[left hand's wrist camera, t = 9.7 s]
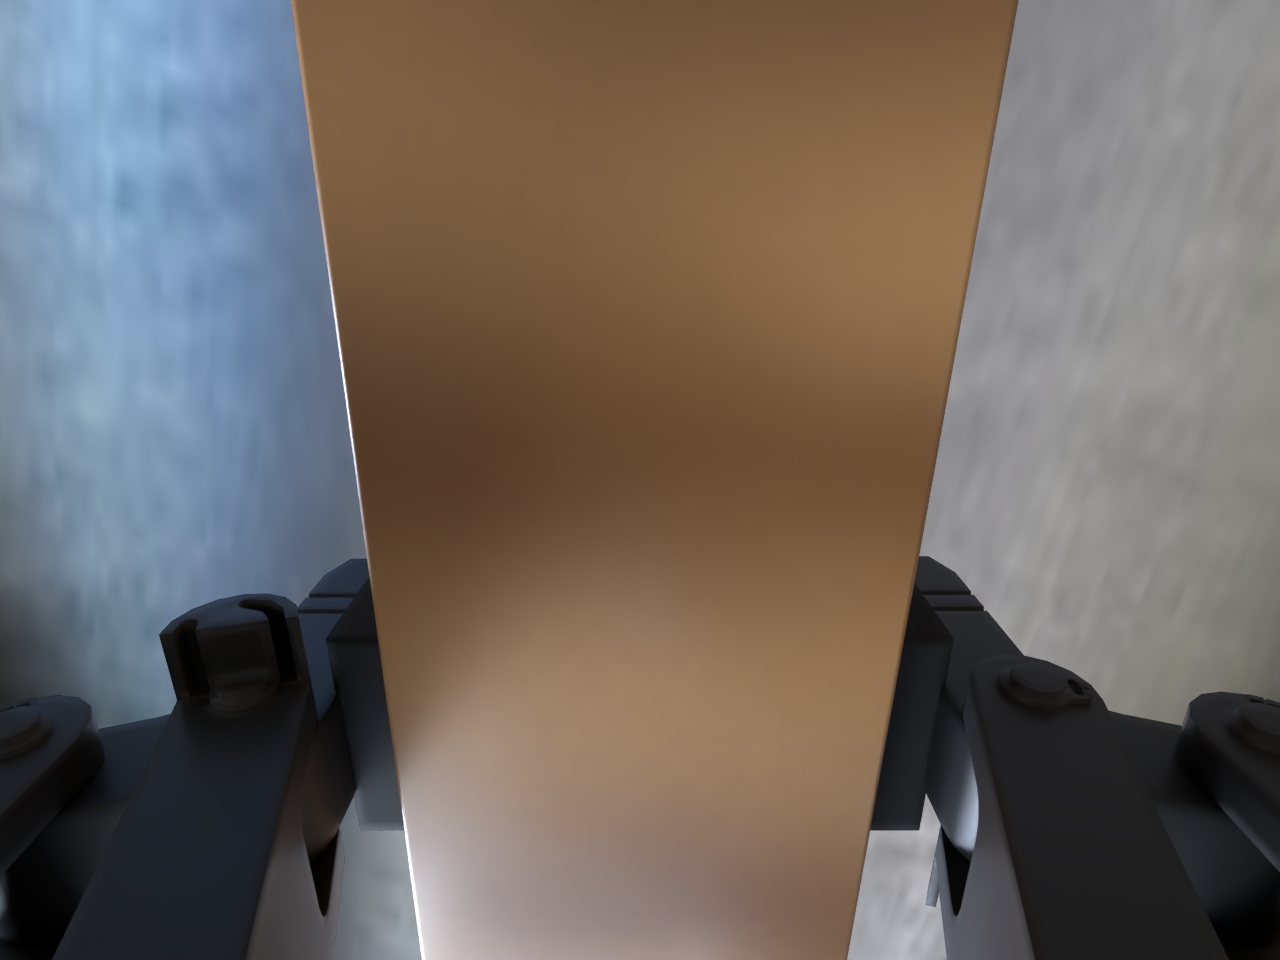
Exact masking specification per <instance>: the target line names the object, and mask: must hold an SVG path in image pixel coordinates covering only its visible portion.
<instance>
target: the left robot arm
mask: <svg viewBox="0 0 1280 960" xmlns="http://www.w3.org/2000/svg"><path fill="white" fill-rule="evenodd" d="M159 637H160V640H161V644H162V647H163V651H164V655H165V658H166V662H167V665H168V669H169V672H170V676H171V680H172V683H173V687H174V690H175V694H176V698H177V703H176V705H175V707H174V709H173V711H172V713H171V714H169V715H165V716H161V717H157V718H152V719H147V720H142V721H137V722H132V723H127V724H122V725H117V726H112V727H107V728H102V729H98V727H97V724H96V721H95V718H94V715H93V712H92V709H91V706H90V705H89V704H87V703H86V702H84V701H83V700H82V699H80V698H78V697H69V696H61V695H56V696H48V697H40V698H30V699H25V700H21V701H17V703H10V704H7V705H4V706H1V707H0V960H333V955H334V947H335V938H336V930H337V921H338V913H339V904H340V896H341V887H342V879H343V871H344V862H345V854H344V847H343V841H342V836H341V831H340V824H341V822H342V820H343V817H344V815H345V813H346V811H347V809H348V807H349V805H350V803H351V800H352V798H353V796H354V798H355V803H356V809H357V814H358V820H359V825H360V830H404V825H403V818H402V811H401V803H400V796H399V789H398V781H397V774H396V767H395V759H394V752H393V745H392V737H391V730H390V723H389V715H388V708H387V701H386V693H385V686H384V679H383V671H382V664H381V657H380V649H379V642H378V635H377V627H376V620H375V613H374V605H373V598H372V591H371V583H370V576H369V569H368V561H367V559H350V560H349V561H347V562H345V563H344V564H342V565H340V566H339V567H337V568H335V569H334V570H332V571H330V572H329V573H327V574H325V575H324V576H323V578H322V579H321V580H320V581H319V583H318V584H317V585H316V586H315V587H314V589H313V590H312V591H311V592H310V593H309V598H305V600H304V601H303V602H302V603H301V604H300V606H299V607H298V608H297V606H296V605H295V604H294V603H293V602H291V601H290V600H289V599H287V598H286V597H282V596H277V595H272V594H243V595H238V596H233V597H229V598H224V599H219V600H216V601H213V602H210V603H207V604H205V605H202V606H199V607H197V608H194V609H192V610H190V611H188V612H187V613H185V614H183V615H181V616H180V617H178V618H176V619H175V620H173V621H172V622H171V623H170V624H169V625H168V626H167V627H166V628H165V629H164V630H163V631H162V632H161V633H160V634H159ZM926 794H927V796H928V798H929V800H930V802H931V804H932V806H933V808H934V811H935V813H936V815H937V817H938V819H939V821H940V823H941V826H940V831H939V836H938V841H937V846H936V851H935V856H934V861H933V867H932V872H931V877H930V882H929V887H928V893H927V900H926V905H929V906H933V907H936V903H937V898H938V893H939V894H940V902H941V911H942V919H943V928H944V936H945V945H946V953H947V960H1280V703H1278V702H1275V701H1272V700H1269V699H1267V700H1264V698H1262V697H1258V696H1253V695H1247V694H1246V695H1245V694H1237V693H1228V692H1215V693H1207V694H1201V695H1199V696H1198V697H1197V698H1195V699H1194V700H1193V701H1191V702H1190V704H1189V707H1188V710H1187V713H1186V716H1185V719H1184V722H1183V725H1182V726H1180V725H1175V724H1170V723H1165V722H1159V721H1154V720H1149V719H1144V718H1139V717H1134V716H1129V715H1124V714H1120V713H1116V712H1112V711H1108V709H1107V707H1106V705H1105V703H1104V701H1103V699H1102V698H1101V697H1100V696H1099V694H1098V693H1097V692H1096V691H1095V689H1094V688H1093V687H1092V686H1091V685H1090V684H1089V683H1087V682H1086V681H1084V680H1083V679H1082V678H1080V677H1079V676H1077V675H1076V674H1074V673H1073V672H1071V671H1069V670H1067V669H1065V668H1062V667H1060V666H1058V665H1055V664H1053V663H1051V662H1048V661H1045V660H1040V659H1036V658H1032V657H1028V656H1024V655H1023V654H1022V653H1021V651H1020V650H1019V649H1018V648H1017V647H1016V645H1015V644H1014V643H1013V642H1012V641H1011V639H1010V638H1009V637H1008V636H1007V635H1006V633H1005V632H1004V631H1003V630H1002V628H1001V627H1000V626H999V625H998V624H997V622H996V621H995V620H994V619H993V618H992V616H991V615H990V614H989V613H988V612H987V611H984V607H983V606H982V604H981V603H980V602H979V601H978V599H977V598H976V597H975V596H974V595H971V591H970V590H969V589H968V587H967V586H966V585H965V584H964V583H963V581H962V580H961V579H960V578H959V577H958V575H957V574H956V573H955V572H954V571H952V570H950V569H949V568H947V567H945V566H944V565H942V564H940V563H939V562H937V561H935V560H934V559H932V558H930V557H929V556H919V559H918V565H917V570H916V576H915V581H914V587H913V593H912V598H911V604H910V609H909V615H908V620H907V626H906V632H905V637H904V643H903V648H902V654H901V660H900V665H899V671H898V676H897V682H896V688H895V693H894V699H893V704H892V710H891V716H890V721H889V727H888V732H887V738H886V744H885V749H884V755H883V760H882V766H881V772H880V777H879V783H878V788H877V794H876V800H875V805H874V811H873V816H872V822H871V828H870V830H919V828H920V822H921V817H922V811H923V806H924V800H925V795H926Z"/></svg>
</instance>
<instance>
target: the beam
mask: <svg viewBox="0 0 1280 960" xmlns="http://www.w3.org/2000/svg"><path fill="white" fill-rule="evenodd" d="M291 4H292V12H293V19H294V26H295V34H296V41H297V48H298V56H299V63H300V70H301V78H302V85H303V92H304V100H305V107H306V114H307V122H308V129H309V136H310V144H311V151H312V158H313V166H314V173H315V180H316V188H317V195H318V202H319V209H320V217H321V224H322V231H323V239H324V246H325V253H326V261H327V268H328V275H329V283H330V290H331V297H332V305H333V312H334V319H335V327H336V334H337V341H338V349H339V356H340V363H341V371H342V378H343V385H344V393H345V400H346V407H347V415H348V422H349V429H350V437H351V444H352V451H353V459H354V466H355V473H356V481H357V488H358V495H359V503H360V510H361V517H362V525H363V532H364V539H365V547H366V554H367V561H368V569H369V576H370V583H371V591H372V598H373V605H374V613H375V620H376V627H377V635H378V642H379V649H380V657H381V664H382V671H383V679H384V686H385V693H386V701H387V708H388V715H389V723H390V730H391V737H392V745H393V752H394V759H395V767H396V774H397V781H398V789H399V796H400V803H401V811H402V818H403V825H404V832H405V840H406V847H407V854H408V862H409V869H410V876H411V884H412V891H413V898H414V906H415V913H416V920H417V928H418V935H419V942H420V950H421V957H422V960H847V956H848V951H849V945H850V939H851V934H852V928H853V923H854V917H855V911H856V906H857V900H858V895H859V889H860V883H861V878H862V872H863V867H864V861H865V855H866V850H867V844H868V839H869V833H870V828H871V822H872V816H873V811H874V805H875V800H876V794H877V788H878V783H879V777H880V772H881V766H882V760H883V755H884V749H885V744H886V738H887V732H888V727H889V721H890V716H891V710H892V704H893V699H894V693H895V688H896V682H897V676H898V671H899V665H900V660H901V654H902V648H903V643H904V637H905V632H906V626H907V620H908V615H909V609H910V604H911V598H912V593H913V587H914V581H915V576H916V570H917V565H918V559H919V553H920V548H921V542H922V537H923V531H924V525H925V520H926V514H927V509H928V503H929V497H930V492H931V486H932V481H933V475H934V469H935V464H936V458H937V453H938V447H939V441H940V436H941V430H942V425H943V419H944V413H945V408H946V402H947V397H948V391H949V385H950V380H951V374H952V369H953V363H954V357H955V352H956V346H957V341H958V335H959V330H960V324H961V318H962V313H963V307H964V302H965V296H966V290H967V285H968V279H969V274H970V268H971V262H972V257H973V251H974V246H975V240H976V234H977V229H978V223H979V218H980V212H981V206H982V201H983V195H984V190H985V184H986V178H987V173H988V167H989V162H990V156H991V150H992V145H993V139H994V134H995V128H996V122H997V117H998V111H999V106H1000V100H1001V95H1002V89H1003V83H1004V78H1005V72H1006V67H1007V61H1008V55H1009V50H1010V44H1011V39H1012V33H1013V27H1014V22H1015V16H1016V11H1017V5H1018V0H291Z"/></svg>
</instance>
